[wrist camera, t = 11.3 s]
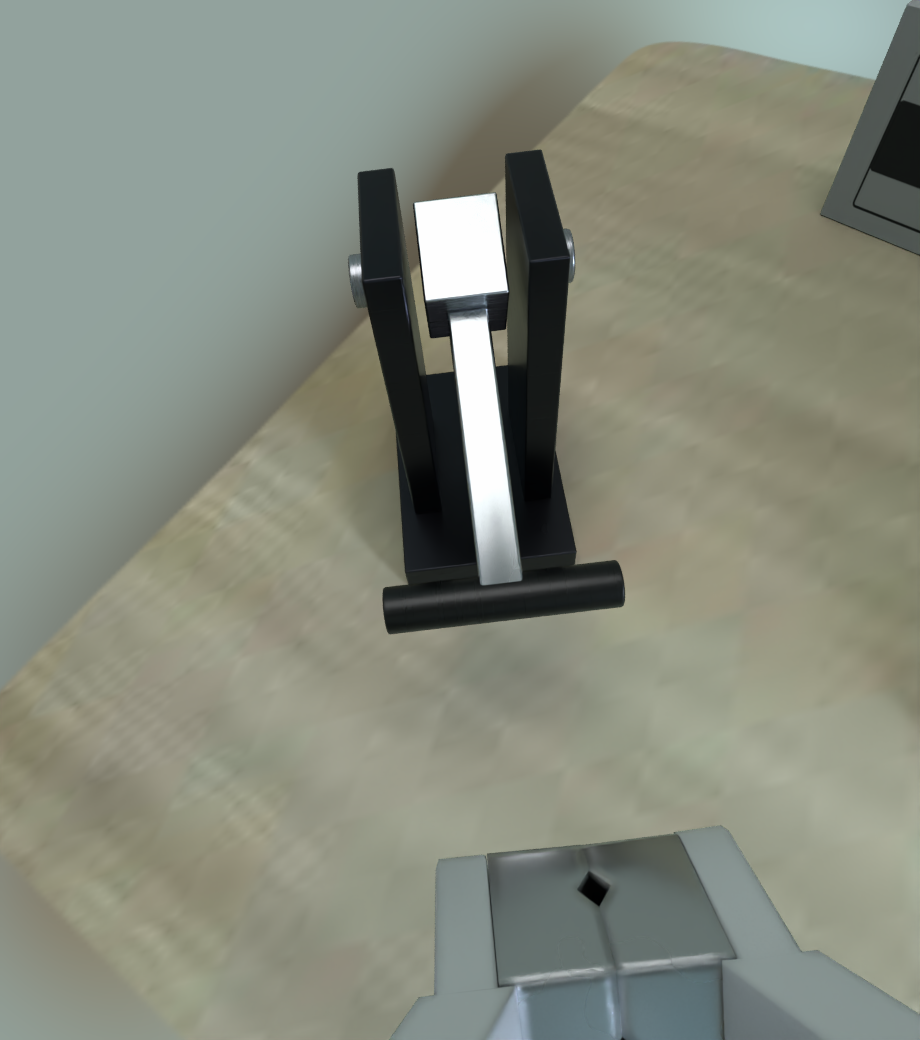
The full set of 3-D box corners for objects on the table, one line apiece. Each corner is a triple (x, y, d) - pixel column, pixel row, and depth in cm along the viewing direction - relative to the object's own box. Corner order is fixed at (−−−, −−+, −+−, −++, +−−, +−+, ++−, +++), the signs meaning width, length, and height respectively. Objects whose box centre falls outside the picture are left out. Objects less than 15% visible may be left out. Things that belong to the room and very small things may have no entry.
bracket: (574, 567, 26) (612, 322, 16) (409, 587, 26) (341, 355, 16) (536, 380, 30) (546, 99, 20) (396, 397, 30) (337, 124, 20)
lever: (614, 608, 19) (633, 605, 17) (393, 634, 19) (382, 635, 17) (558, 232, 21) (569, 181, 19) (355, 256, 21) (340, 209, 19)
